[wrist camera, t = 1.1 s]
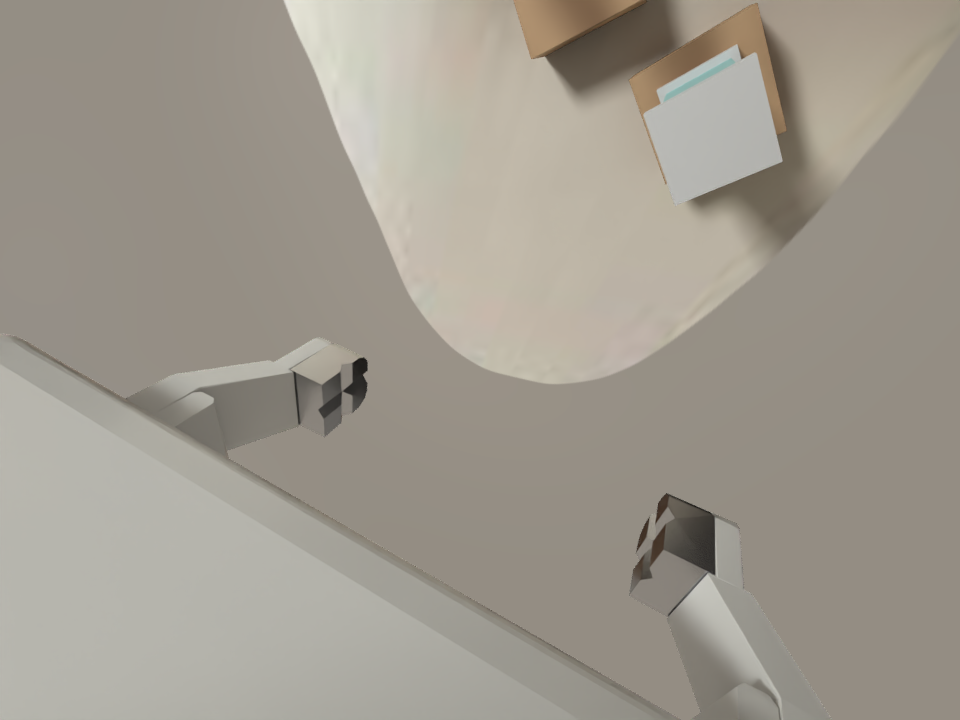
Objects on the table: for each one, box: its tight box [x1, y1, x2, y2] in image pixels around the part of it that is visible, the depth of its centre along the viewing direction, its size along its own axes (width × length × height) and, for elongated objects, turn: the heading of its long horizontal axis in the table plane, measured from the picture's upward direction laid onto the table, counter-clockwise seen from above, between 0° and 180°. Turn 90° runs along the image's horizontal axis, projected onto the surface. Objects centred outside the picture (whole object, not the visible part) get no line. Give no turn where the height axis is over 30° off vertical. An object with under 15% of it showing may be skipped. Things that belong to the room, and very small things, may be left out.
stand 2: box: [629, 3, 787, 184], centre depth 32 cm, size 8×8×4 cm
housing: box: [643, 44, 783, 206], centre depth 26 cm, size 5×5×12 cm
